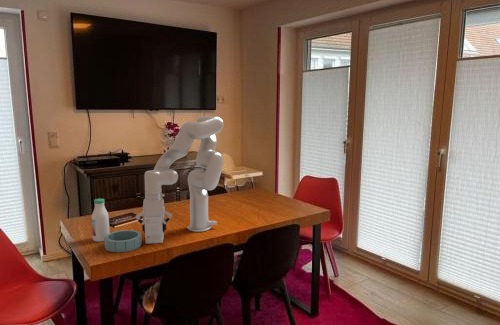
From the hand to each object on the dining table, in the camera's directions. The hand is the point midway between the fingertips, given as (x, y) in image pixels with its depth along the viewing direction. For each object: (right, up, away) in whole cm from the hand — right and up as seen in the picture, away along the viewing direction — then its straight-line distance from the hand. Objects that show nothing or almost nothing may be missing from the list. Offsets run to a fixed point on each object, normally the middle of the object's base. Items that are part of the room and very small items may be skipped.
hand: (154, 231), depth 181 cm
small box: (0, -5, +1) cm, 5 cm away
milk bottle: (-27, -4, +3) cm, 27 cm away
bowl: (-13, -6, -5) cm, 15 cm away
